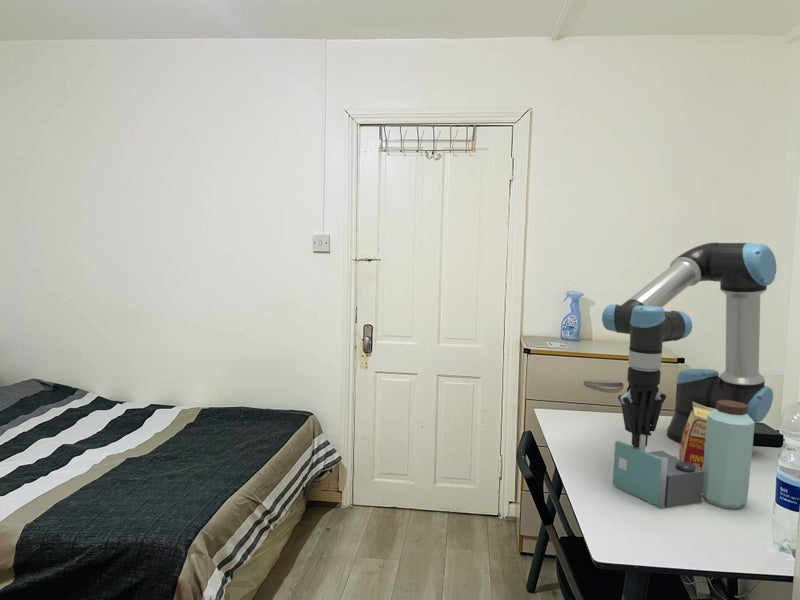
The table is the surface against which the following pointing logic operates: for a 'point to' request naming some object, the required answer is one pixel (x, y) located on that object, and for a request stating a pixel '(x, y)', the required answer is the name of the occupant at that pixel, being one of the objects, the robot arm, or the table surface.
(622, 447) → the side door
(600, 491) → the table surface
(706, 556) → the table surface
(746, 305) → the robot arm
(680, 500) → the camera body
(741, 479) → the water bottle
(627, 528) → the table surface
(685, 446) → the milk carton
